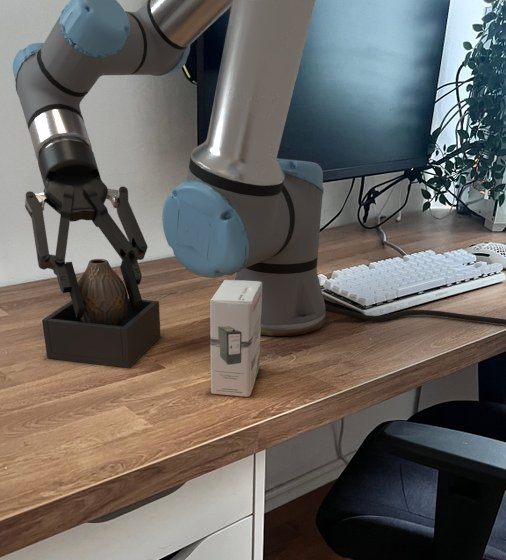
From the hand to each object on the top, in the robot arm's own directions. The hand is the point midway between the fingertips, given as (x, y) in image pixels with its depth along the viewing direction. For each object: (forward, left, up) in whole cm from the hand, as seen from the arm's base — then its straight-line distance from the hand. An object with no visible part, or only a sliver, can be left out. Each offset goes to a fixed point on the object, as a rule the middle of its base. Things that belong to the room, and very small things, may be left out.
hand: (109, 309), depth 88 cm
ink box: (-18, +3, -7) cm, 19 cm away
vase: (+2, -3, -4) cm, 5 cm away
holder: (+2, -3, -6) cm, 7 cm away
